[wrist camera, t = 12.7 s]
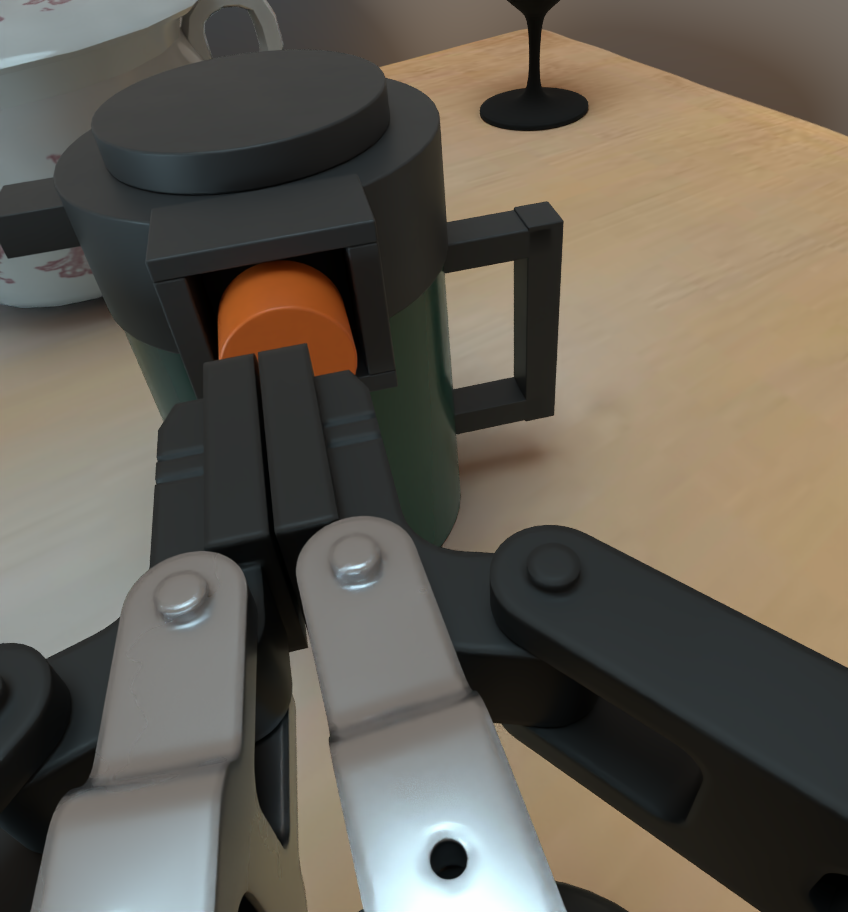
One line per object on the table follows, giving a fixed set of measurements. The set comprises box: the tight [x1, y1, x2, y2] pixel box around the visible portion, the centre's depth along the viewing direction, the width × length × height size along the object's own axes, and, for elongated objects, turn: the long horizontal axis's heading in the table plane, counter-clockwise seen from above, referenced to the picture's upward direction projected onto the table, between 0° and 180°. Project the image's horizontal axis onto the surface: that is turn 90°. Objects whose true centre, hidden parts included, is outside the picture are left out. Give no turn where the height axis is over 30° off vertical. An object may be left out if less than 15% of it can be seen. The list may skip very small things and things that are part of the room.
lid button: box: [218, 260, 357, 376], centre depth 19 cm, size 2×3×3 cm
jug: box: [0, 49, 564, 547], centre depth 29 cm, size 15×19×19 cm
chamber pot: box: [0, 0, 283, 308], centre depth 50 cm, size 28×28×21 cm
